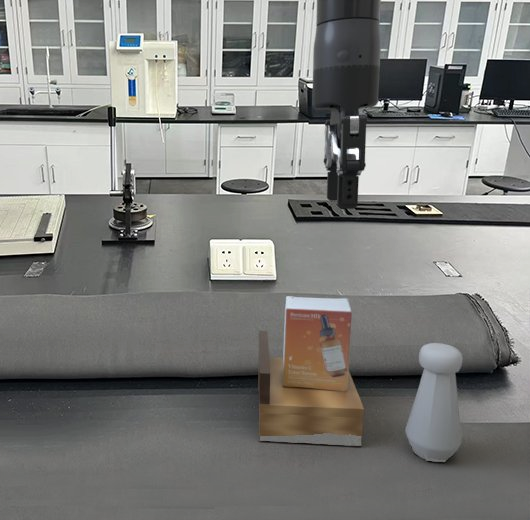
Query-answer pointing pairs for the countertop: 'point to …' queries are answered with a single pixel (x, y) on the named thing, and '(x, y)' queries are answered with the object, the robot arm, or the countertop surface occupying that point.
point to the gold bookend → (303, 403)
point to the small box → (317, 343)
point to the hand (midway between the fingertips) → (340, 204)
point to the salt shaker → (436, 404)
